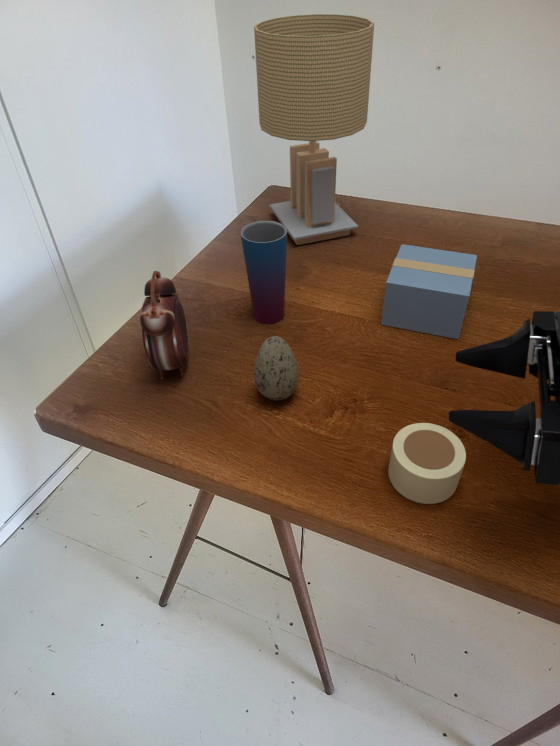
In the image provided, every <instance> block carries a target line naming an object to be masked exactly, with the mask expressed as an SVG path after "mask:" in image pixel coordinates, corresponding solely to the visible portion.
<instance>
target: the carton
mask: <svg viewBox="0 0 560 746" xmlns="http://www.w3.org/2000/svg"><path fill="white" fill-rule="evenodd" d="M477 259H478V254H472V253H465V252H458V251H451V250H444V249H439V248H437V249H436V248H431V247H425V246H416V245H409V244H404V243H403V244H400V247H399V250H398V252H397V254H396V257H395V258H394V260H393V263H392V266H391V269H390V272H389V273H388V276H387V279H386V281H385V288H384V296H383V302H382V303H383V304H382V312H381V319H380V325H381V326H387V327H390V328H391V327H392V328H396V329H401V330H406V331H413V332H418V333H422V334H427V335H433V336H439V337H444V338H448V339H453V340H459V339H460V336H461V331H462V327H463V323H464V320H465V316H466V311H467V307H468V303H469V299H470V297H471V292H472V285H473V280H474V277H475V270H476V265H477Z"/></svg>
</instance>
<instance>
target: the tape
mask: <svg viewBox="0 0 560 746" xmlns="http://www.w3.org/2000/svg"><path fill="white" fill-rule="evenodd" d="M391 445H392V446H391V452H390V456H389V457H390V458H389V463H388V468H387V469H388V470H387V474H388V478H389V481H390V484H391V485H392V487H393V488H394V490H396V492H398V493H399V494H400V495H401V496H402V497H404V498H406V499H407V500H410V501H411V502H415V503H418V504H423V505H435V504H439V503H442V502H444V501H447V500H448V499H450V498H451V497H452V496H453V495H454V494H455V492H456V490H457V488H458V485H459V483H460V479H461V477H462V474H463V470H464V468H465V464H466V462H467V452H466V448H465V446H464V444H463V442H462V441H461V439H460V438H459V437H458V436H457V435H456V434H455V433H454V432H453V431H451V430H450V429H448V428H446V427H444V426H441V425H439V424H435V423H430V422H417V423H416V422H415V423H412V424H409V425H406V426H404V427H402V428H401V429H399V431H397V433H396V434H395V436H394V437H393V440H392V444H391Z"/></svg>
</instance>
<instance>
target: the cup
mask: <svg viewBox="0 0 560 746" xmlns="http://www.w3.org/2000/svg"><path fill="white" fill-rule="evenodd" d="M240 238H241V239H240V240H241V244H242V252H243V258H244V263H245V270H246V277H247V282H248V283H247V284H248V288H249V289H248V290H249V294H250V301H251V307H252V314H253V317H254V320H255V321H257V322H259V323H261V324H266V325H270V324H275V323H278V322H280V321H282V320H283V319H284V317H285V298H286V274H287V273H286V271H287V246H288V232H287V228H286V227H285V226H284V225H283V224H281V222H278V221H274V220H258V221H253V222H250V223H248V224H246V225H244V226H243V227H242V228H241V229H240Z"/></svg>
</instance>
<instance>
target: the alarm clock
mask: <svg viewBox="0 0 560 746" xmlns="http://www.w3.org/2000/svg"><path fill="white" fill-rule="evenodd" d="M177 293H178V291H177V287H176V284H175V283H174V281H173V280H172V279H171V278H169V277H165V276H163V277H162V275H161V272H160V271H159V270H158V271H157V270H153V272H152V275H151V279H148V281H146V283H145V284H144V292H143V294H144V295H143V296H144V297H145V298H144V300H143V303H142V306H141V312H140V315H139V322H140V326H141V335H142V343H143V348H144V352H145V356H146V360H147V362H148V364H149V365H150V367H151V368H152V370H154V371H158V372H159V376H160V380H161V381H163V380H164V379H165V376H164V371H174V370H179V372H180V376H184V372H183V369H184V368H185V367H186V364H187V357H188V352H189V351H188V350H189V349H188V348H189V344H188V330H187V321H186V316H185V310H184V307H183V305H182V303H181V300H180V297H179V295H178V294H177Z"/></svg>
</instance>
